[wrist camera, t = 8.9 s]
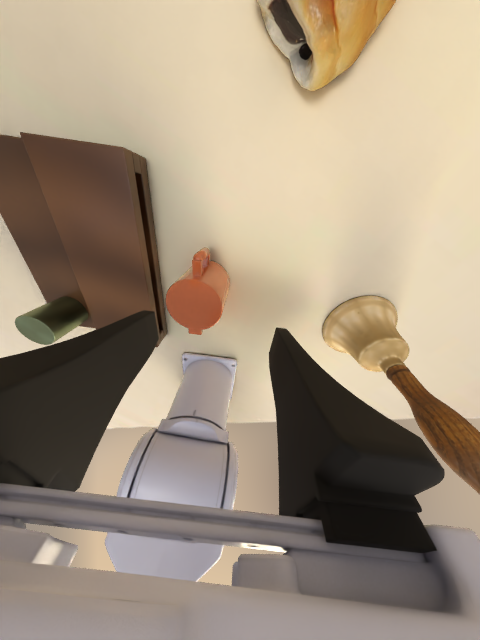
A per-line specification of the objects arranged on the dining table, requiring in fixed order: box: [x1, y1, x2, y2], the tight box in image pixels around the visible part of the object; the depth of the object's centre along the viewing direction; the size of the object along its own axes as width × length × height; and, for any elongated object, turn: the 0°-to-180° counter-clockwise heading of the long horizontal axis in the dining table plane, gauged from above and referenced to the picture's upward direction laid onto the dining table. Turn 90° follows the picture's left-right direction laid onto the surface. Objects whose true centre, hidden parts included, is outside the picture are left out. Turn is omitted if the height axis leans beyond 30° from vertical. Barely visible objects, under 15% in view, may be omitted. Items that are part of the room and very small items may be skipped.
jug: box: [166, 247, 230, 335], centre depth 17 cm, size 7×5×6 cm
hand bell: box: [322, 296, 480, 494], centre depth 15 cm, size 8×8×16 cm
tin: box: [15, 297, 88, 345], centre depth 20 cm, size 4×4×4 cm
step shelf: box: [0, 132, 167, 347], centre depth 18 cm, size 18×14×3 cm
